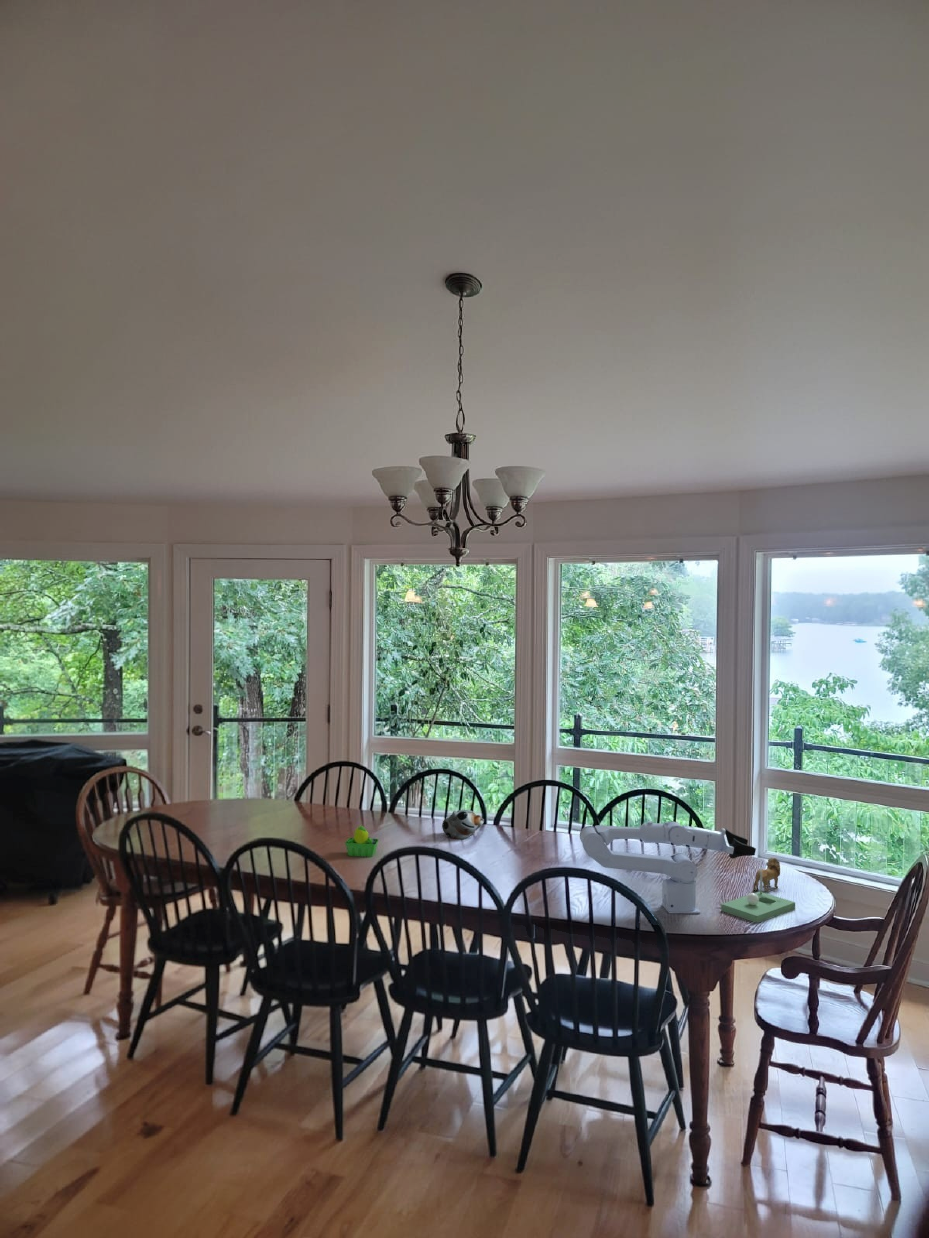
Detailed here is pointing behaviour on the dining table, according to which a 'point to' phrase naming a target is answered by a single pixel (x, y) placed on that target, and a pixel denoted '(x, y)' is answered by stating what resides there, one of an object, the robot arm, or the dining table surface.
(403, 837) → the dining table surface
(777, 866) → the lion figurine
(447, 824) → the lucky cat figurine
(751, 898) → the golf ball
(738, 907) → the putting mat
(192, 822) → the dining table surface
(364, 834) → the fruit basket
